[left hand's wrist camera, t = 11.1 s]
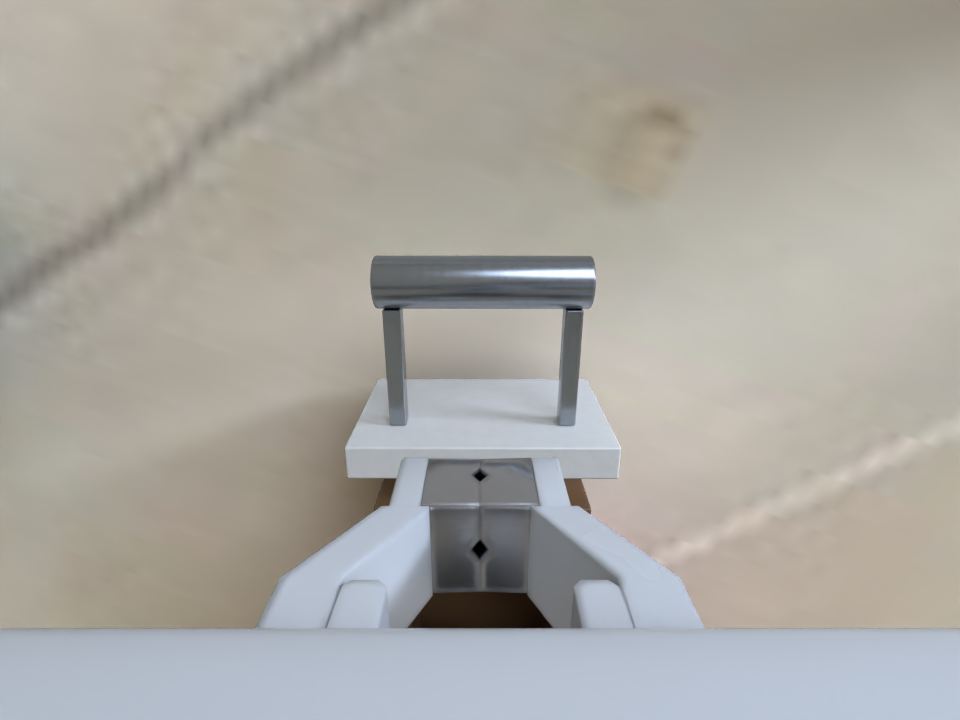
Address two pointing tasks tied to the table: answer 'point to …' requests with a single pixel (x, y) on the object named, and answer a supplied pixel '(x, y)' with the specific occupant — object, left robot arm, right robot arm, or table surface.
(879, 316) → the table surface
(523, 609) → the drawer
